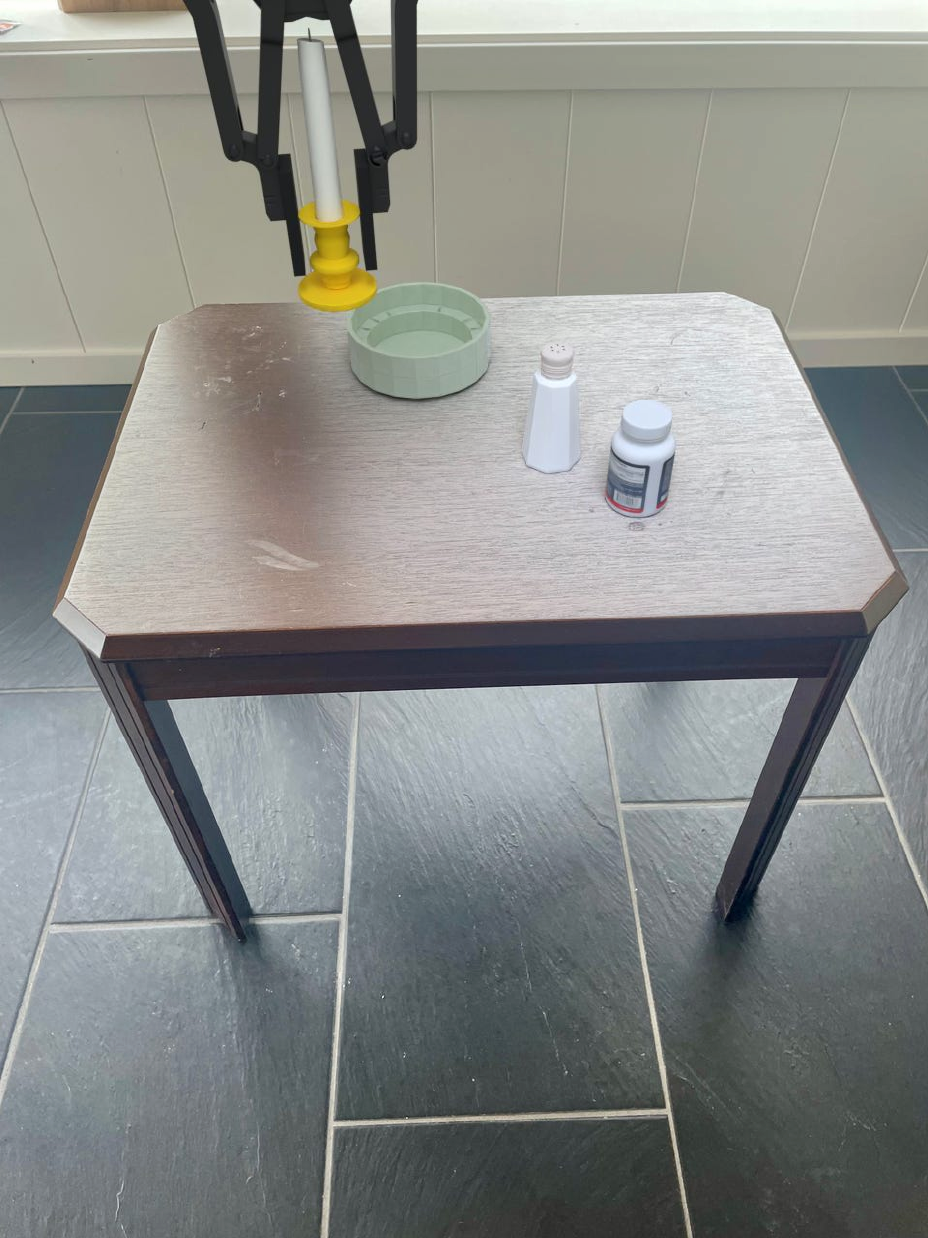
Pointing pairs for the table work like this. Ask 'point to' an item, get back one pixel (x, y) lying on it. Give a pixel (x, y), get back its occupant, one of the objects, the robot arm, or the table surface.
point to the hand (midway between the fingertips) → (334, 262)
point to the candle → (327, 199)
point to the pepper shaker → (553, 412)
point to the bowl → (420, 340)
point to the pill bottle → (641, 459)
